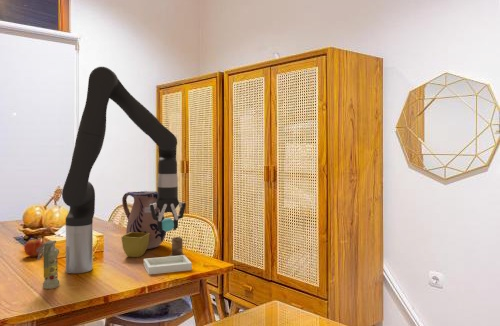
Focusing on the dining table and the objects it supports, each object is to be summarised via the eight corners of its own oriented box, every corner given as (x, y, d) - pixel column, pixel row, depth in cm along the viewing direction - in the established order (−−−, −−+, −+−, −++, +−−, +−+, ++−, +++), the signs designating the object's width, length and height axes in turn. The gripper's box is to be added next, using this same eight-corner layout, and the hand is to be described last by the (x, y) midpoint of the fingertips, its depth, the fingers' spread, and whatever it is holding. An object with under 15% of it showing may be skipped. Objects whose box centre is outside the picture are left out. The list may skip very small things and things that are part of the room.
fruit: (20, 257, 171) (20, 238, 170) (34, 253, 177) (33, 234, 177) (34, 259, 169) (34, 239, 168) (47, 255, 175) (47, 236, 175)
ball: (162, 233, 156) (162, 219, 156) (159, 230, 161) (159, 217, 161) (175, 232, 158) (175, 218, 158) (172, 229, 163) (172, 216, 163)
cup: (171, 259, 172) (171, 240, 172) (168, 255, 178) (168, 237, 177) (185, 257, 174) (186, 239, 174) (182, 254, 180) (182, 236, 179)
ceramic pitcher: (157, 253, 181) (157, 195, 179) (111, 250, 184) (111, 193, 183) (171, 243, 198) (171, 190, 197) (129, 241, 201) (129, 189, 200)
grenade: (61, 283, 141) (60, 239, 140) (52, 291, 134) (51, 244, 133) (42, 283, 140) (41, 239, 140) (32, 290, 134) (31, 244, 133)
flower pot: (140, 259, 171) (140, 237, 171) (120, 257, 173) (120, 236, 172) (149, 253, 180) (150, 233, 179) (131, 252, 181) (131, 231, 181)
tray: (148, 274, 152) (148, 267, 152) (143, 265, 163) (143, 258, 163) (191, 269, 158) (191, 263, 158) (184, 261, 169) (184, 255, 169)
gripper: (150, 187, 152) (150, 233, 153) (188, 185, 158) (188, 230, 159) (146, 185, 159) (146, 229, 160) (183, 184, 165) (183, 227, 166)
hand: (167, 229), depth 160 cm, fingers closed on ball, 5 cm apart
